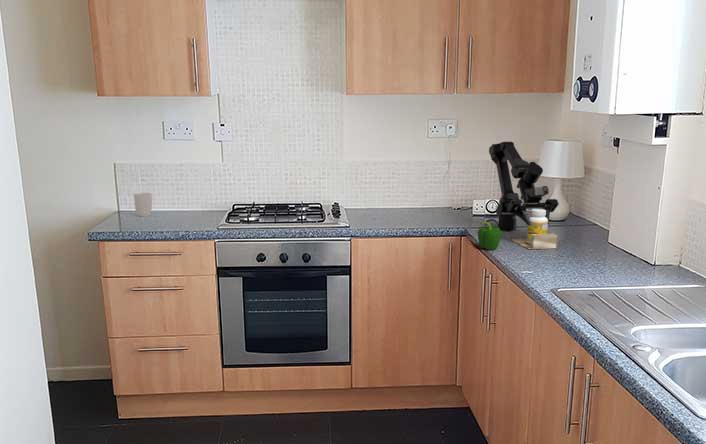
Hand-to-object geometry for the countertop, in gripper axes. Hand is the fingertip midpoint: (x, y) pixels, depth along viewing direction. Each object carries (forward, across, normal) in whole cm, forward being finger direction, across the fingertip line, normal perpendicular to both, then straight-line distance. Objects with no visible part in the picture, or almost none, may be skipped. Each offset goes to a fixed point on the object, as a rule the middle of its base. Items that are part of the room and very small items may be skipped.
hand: (538, 224), depth 231 cm
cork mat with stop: (+5, 0, +7) cm, 9 cm away
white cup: (-50, -158, +64) cm, 178 cm away
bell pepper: (+8, -20, +4) cm, 22 cm away
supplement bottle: (+5, 0, +6) cm, 8 cm away
